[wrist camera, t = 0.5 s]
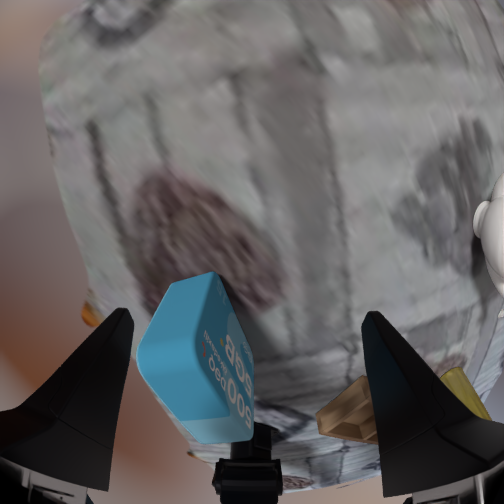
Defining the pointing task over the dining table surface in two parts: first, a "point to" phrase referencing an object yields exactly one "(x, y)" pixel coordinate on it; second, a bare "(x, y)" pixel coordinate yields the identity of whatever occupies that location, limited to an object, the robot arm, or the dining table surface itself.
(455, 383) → the vase
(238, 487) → the robot arm
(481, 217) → the teapot
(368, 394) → the rack
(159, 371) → the data package
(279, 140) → the dining table surface
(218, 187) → the dining table surface
